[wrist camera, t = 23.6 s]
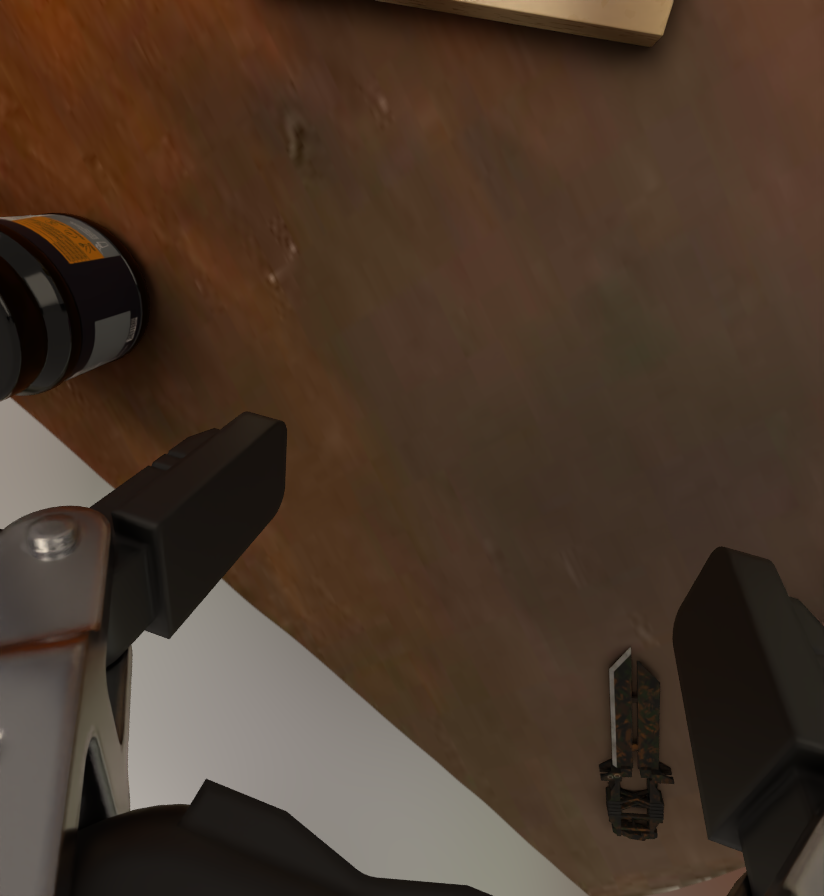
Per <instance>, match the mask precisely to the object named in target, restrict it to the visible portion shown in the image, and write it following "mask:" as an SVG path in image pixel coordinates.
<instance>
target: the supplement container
mask: <svg viewBox="0 0 824 896" xmlns="http://www.w3.org/2000/svg"><path fill="white" fill-rule="evenodd" d="M149 316H150V301H149V294H148V289H147V286H146V282H145V280H144V277H143V274H142V272H141V270H140V268H139V266H138V264H137V263H136V261H135V259H134V258H133V256H132V255H131V253H130V252H129V251H128V250H127V248H126V247H125V246H124V245H123V244H122V243H121V242H120V241H119V240H118V239H117V238H116V237H115V236H114V235H113V234H112V233H110V232H109V231H108V230H106V229H105V228H103V227H102V226H100V225H98V224H97V223H95V222H93V221H91V220H88V219H86V218H83V217H81V216H77V215H73V214H67V213H47V214H42V215H32V216H15V217H0V401H2V400H5V399H7V398H9V397H12V396H14V395H20V396H25V395H35V394H40V393H43V392H46V391H49V390H51V389H53V388H55V387H57V386H58V385H60V384H61V383H63V382H64V381H66V380H68V379H71V378H73V377H75V376H78V375H80V374H82V373H85V372H87V371H89V370H92V369H94V368H96V367H99V366H101V365H103V364H106V363H109V362H112V361H115V360H118V359H120V358H122V357H124V356H126V355H127V354H129V353H130V352H131V351H132V350H133V349H135V347H136V346H137V345H138V344H139V343H140V341H141V340H142V338H143V336H144V334H145V332H146V329H147V326H148V322H149Z"/></svg>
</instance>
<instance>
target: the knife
mask: <svg viewBox="0 0 824 896" xmlns="http://www.w3.org/2000/svg"><path fill="white" fill-rule="evenodd" d="M609 679H610V706H611V734H612V760H608V761H606V762H604V763H602V764H600V765H599V769H600V772H608V773H605V774H601V773H600V776H601V780H604V781H609V787H608V788H606V800H607V801H606V803H607V809H608V816H609V821H610V822H611V823H612V829H613V832H614V833H615V834H617V836H621V835H623V836H626V837H628V838H630V839H636V840H642V841H645V839H655V838H657V829H656V827H657V826H658V824H659V823H663V819H664V818H663V817H664V814H663V813H664V811H663V810H664V807H663V806H664V803H663V799H662V795H661V791H660V790H658V789H657V783H661V782H662V783H664V784H674V779H673V777H668V776H667V775H672V772H671V768H670V767H668V766H666V765H664V764H662V763H660V762H659V710H660V682H659V681H658V680H657V679H656V678H655V677H654V676H653V675H652V674H651V673H650V672H649V671H648V670H647V669H646V668H645V667H644V666H643V665H642V664H641V663H640V662H639V661H637V697H633V696H632V675H631V647H630V648H629V649H628V650H627V651H626V652H625V653H624V654H623V655H622V656H621V657H620V658H619V659H618V660H617V661H616V662H615V664H614V665H613V666H612V667H611V668H610V669H609ZM632 703H637V715H638V744H632ZM633 751H638V769H640V774H641V778H647V790H644V791H641V792H638V793H635V794H631V793H629V792H627V791H624V790H622V789H620V781H621V779H622V777H632V769H631V768H633ZM643 795H647V797H644V798H641V797H639V796H643ZM620 797H622V798H624V799H620ZM631 801H632V802H631ZM630 807H639V808H647V814H635V813H621V810H624V809H627V808H630ZM621 819H631V820H632V823H629V822H627V820H621ZM635 820H647V827H644V826H642V825H640V824H635Z"/></svg>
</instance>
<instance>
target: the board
mask: <svg viewBox="0 0 824 896" xmlns="http://www.w3.org/2000/svg"><path fill="white" fill-rule="evenodd" d="M376 1H382V2H388V3H393V4H399V5H405V6H411V7H417V8H423V9H429V10H435V11H440V12H446V13H452V14H458V15H464V16H470V17H476V18H482V19H487V20H493V21H499V22H505V23H511V24H517V25H523V26H528V27H534V28H540V29H546V30H552V31H558V32H564V33H570V34H575V35H581V36H587V37H593V38H599V39H605V40H611V41H617V42H622V43H628V44H634V45H640V46H646V47H652V46H653V45H654V44H655V43H656V42H657V41H658V40H659V39H660V38H661V37H662V36H663V34H664V30H665V27H666V24H667V21H668V17H669V14H670V11H671V8H672V5H673V1H674V0H376Z"/></svg>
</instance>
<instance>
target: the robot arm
mask: <svg viewBox="0 0 824 896" xmlns="http://www.w3.org/2000/svg"><path fill="white" fill-rule="evenodd" d="M286 446H287V428H286V425H285V423H284V422H283V421H280V420H276V419H273V418H269V417H266V416H262V415H259V414H255V413H251V412H243V413H242V414H240V415H239V416H238V417H236V418H235V419H234V420H232V421H231V422H230V423H228V424H227V425H226V426H224V427H223V428H222V429H220V430H219V429H216V428H213V429H210V430H207V431H204V432H202V433H199V434H196V435H193V436H190V437H188V438H186V439H185V440H183V441H182V442H181V443H179V444H178V445H176V446H175V447H174V448H172V449H171V450H169V453H168V454H164V455H162V456H161V457H160V458H158V459H157V460H155V461H154V462H153V464H152V466H147V467H146V468H144V469H143V470H141V471H140V472H139V473H137V474H136V475H134V476H133V477H132V478H130V479H129V480H128V481H126V482H125V483H123V484H122V485H121V486H119V487H118V488H116V489H115V490H114V491H112V492H111V493H109V494H108V495H107V496H105V497H104V498H102V499H101V500H100V501H98V502H97V503H95V504H94V505H93V506H91V507H90V508H87V507H81V506H59V507H52V508H47V509H43V510H39V511H36V512H33V513H30V514H28V515H26V516H24V517H21V518H19V519H18V520H16V521H14V522H13V523H11V524H10V525H8V526H7V527H6V528H5V529H0V896H492V895H490V894H487V893H485V892H482V891H480V890H477V889H475V888H473V887H470V886H467V885H456V884H445V883H433V882H421V881H410V880H398V879H387V878H376V877H371V876H368V875H365V874H363V873H361V872H360V871H358V870H357V869H355V868H354V867H353V866H352V865H351V864H350V863H348V862H347V861H346V860H345V859H344V858H342V857H341V856H340V855H339V854H337V853H336V852H335V851H334V850H332V849H331V848H330V847H329V846H328V845H327V844H325V843H324V842H323V841H322V840H320V839H319V838H318V837H317V836H316V835H314V834H313V833H312V832H311V831H310V830H308V829H307V828H306V827H305V826H303V825H302V824H301V823H300V822H299V821H297V820H296V819H295V818H294V817H293V816H291V815H290V814H289V813H288V812H286V811H284V810H281V809H279V808H276V807H274V806H272V805H269V804H267V803H264V802H262V801H259V800H257V799H255V798H252V797H249V796H247V795H244V794H242V793H240V792H237V791H235V790H232V789H230V788H228V787H225V786H223V785H220V784H218V783H215V782H213V781H210V780H208V779H206V780H205V781H204V783H203V785H202V786H201V788H200V790H199V791H198V793H197V795H196V796H195V798H194V800H193V801H192V803H191V805H186V804H174V805H158V806H153V807H147V808H142V809H136V810H132V811H130V793H129V781H128V740H129V718H130V696H131V676H132V646H131V644H132V643H133V642H134V641H135V640H136V639H137V638H138V637H139V636H140V634H141V633H142V632H143V631H144V630H146V631H148V632H151V633H154V634H156V635H159V636H162V637H164V638H167V639H170V638H171V636H172V635H173V634H174V633H175V632H176V631H177V629H178V628H179V627H180V626H181V625H182V624H183V623H184V621H185V620H186V619H187V618H188V617H189V616H190V614H191V613H192V612H193V611H194V609H196V607H197V606H198V605H199V604H200V603H201V602H202V600H203V599H204V598H205V597H206V596H207V595H208V593H209V592H210V591H211V590H212V589H213V588H214V586H215V585H216V584H217V583H218V582H219V580H220V579H221V578H222V577H223V576H224V575H225V574H226V572H227V571H228V570H229V569H230V568H231V567H232V565H233V564H234V563H235V562H236V561H237V560H238V558H239V557H240V556H241V555H242V554H243V552H244V551H245V550H246V549H247V548H248V547H249V545H250V544H251V543H252V542H253V541H254V540H255V538H256V537H257V536H258V535H259V534H260V533H261V531H262V530H263V529H264V528H265V527H266V526H267V524H268V523H269V522H270V521H271V520H272V519H273V517H274V516H275V514H276V513H277V511H278V509H279V507H280V505H281V502H282V499H283V495H284V490H285V473H286ZM673 647H674V653H675V658H676V664H677V669H678V675H679V680H680V686H681V691H682V697H683V702H684V708H685V714H686V719H687V725H688V730H689V736H690V741H691V747H692V752H693V758H694V764H695V769H696V775H697V780H698V786H699V791H700V797H701V802H702V808H703V813H704V819H705V825H706V830H707V836H708V840H711V841H714V842H717V843H719V844H722V845H725V846H727V847H730V848H733V849H736V850H738V851H741V852H743V857H744V861H745V866H746V870H747V871H746V872H745V873H744V874H743V875H742V876H741V877H740V878H739V879H738V880H737V881H736V883H735V884H734V886H733V887H732V889H731V890H730V892H729V893H728V895H727V896H824V627H823V625H822V624H821V623H820V622H819V621H818V620H817V619H816V618H815V617H814V616H813V615H812V614H811V612H810V611H809V610H808V609H807V608H806V607H805V606H804V605H803V604H802V603H801V602H800V601H799V600H798V599H796V598H792V597H789V596H788V594H787V592H786V589H785V587H784V585H783V583H782V581H781V579H780V576H779V574H778V572H777V570H776V568H775V566H774V564H773V563H772V562H771V561H770V560H768V559H765V558H761V557H758V556H754V555H751V554H747V553H744V552H740V551H737V550H733V549H730V548H726V547H722V546H721V547H718V548H716V549H715V550H714V551H713V552H712V553H711V555H710V556H709V558H708V560H707V561H706V563H705V565H704V567H703V568H702V570H701V572H700V574H699V575H698V577H697V579H696V580H695V582H694V584H693V586H692V587H691V589H690V591H689V592H688V594H687V596H686V598H685V599H684V601H683V603H682V605H681V606H680V608H679V610H678V613H677V615H676V618H675V622H674V627H673Z"/></svg>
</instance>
